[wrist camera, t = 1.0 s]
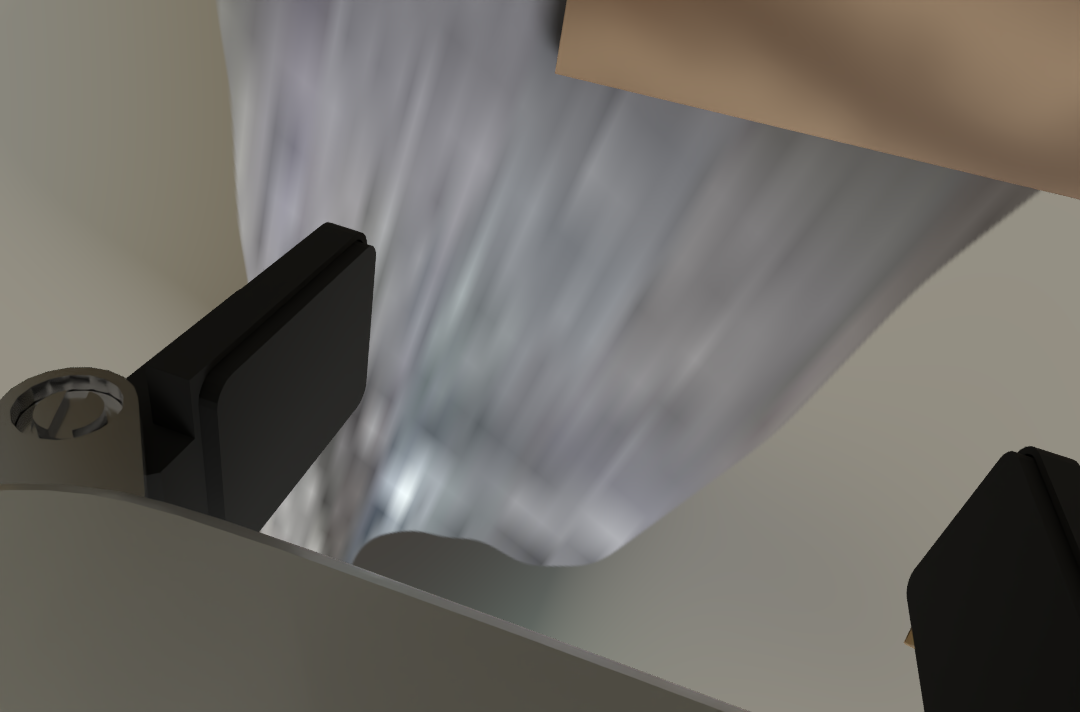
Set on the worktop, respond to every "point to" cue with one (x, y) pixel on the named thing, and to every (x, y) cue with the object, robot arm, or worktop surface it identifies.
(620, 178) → the worktop surface
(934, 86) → the walnut cutting board
